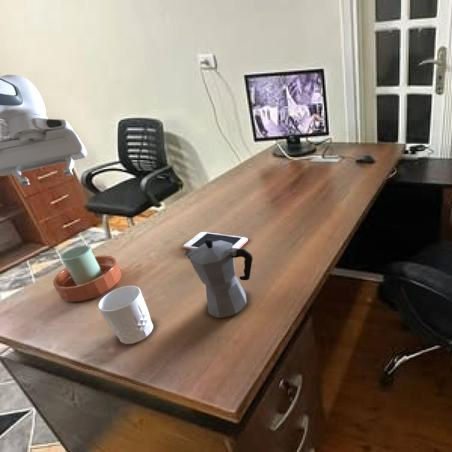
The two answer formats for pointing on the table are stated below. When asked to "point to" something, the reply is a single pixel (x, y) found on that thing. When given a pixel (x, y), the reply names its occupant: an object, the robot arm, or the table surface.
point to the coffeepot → (221, 275)
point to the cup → (81, 264)
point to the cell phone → (202, 236)
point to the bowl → (92, 288)
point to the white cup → (127, 314)
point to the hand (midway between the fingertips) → (47, 179)
